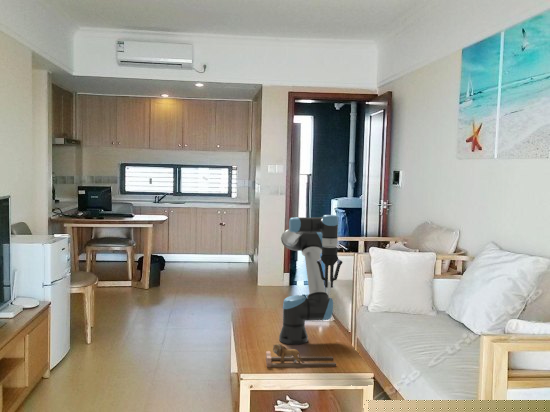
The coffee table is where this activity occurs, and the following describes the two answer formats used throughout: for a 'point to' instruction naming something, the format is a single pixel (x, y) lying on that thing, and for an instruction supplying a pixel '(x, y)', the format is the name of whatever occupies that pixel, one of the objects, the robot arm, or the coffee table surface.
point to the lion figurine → (286, 353)
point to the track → (269, 364)
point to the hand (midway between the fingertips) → (328, 294)
